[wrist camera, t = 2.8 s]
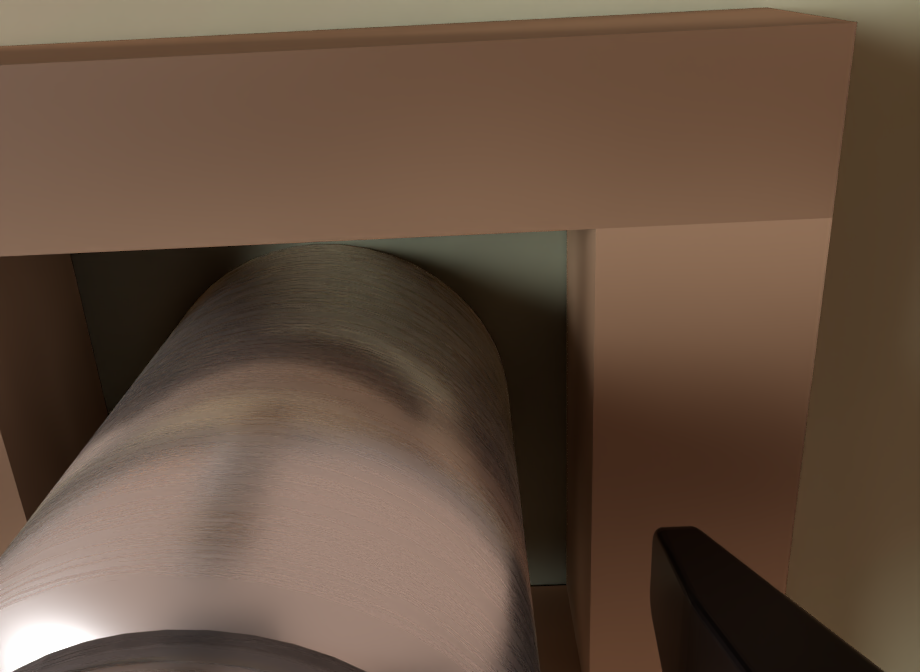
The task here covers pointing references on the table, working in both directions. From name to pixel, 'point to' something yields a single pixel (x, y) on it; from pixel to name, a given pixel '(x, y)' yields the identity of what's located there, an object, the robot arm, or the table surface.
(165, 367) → the plug
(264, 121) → the block
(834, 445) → the table surface
